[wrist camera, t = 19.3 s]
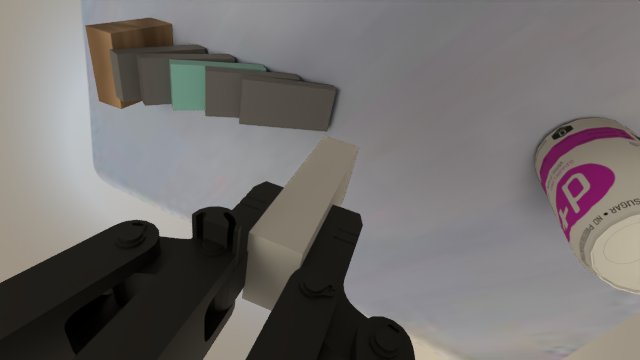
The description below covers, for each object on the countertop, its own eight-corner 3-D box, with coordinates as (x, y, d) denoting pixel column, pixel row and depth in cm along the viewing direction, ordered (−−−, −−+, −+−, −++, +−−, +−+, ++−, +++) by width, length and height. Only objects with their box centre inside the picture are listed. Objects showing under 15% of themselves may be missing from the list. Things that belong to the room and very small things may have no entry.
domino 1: (205, 48, 40) (116, 54, 33) (205, 89, 43) (123, 102, 36) (197, 44, 41) (109, 49, 34) (197, 84, 43) (116, 96, 36)
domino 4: (300, 79, 37) (205, 70, 34) (293, 120, 40) (205, 116, 37) (297, 74, 39) (205, 65, 35) (290, 114, 41) (205, 109, 38)
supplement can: (516, 172, 36) (552, 269, 24) (568, 102, 32) (645, 179, 19) (592, 201, 35) (669, 319, 23) (656, 134, 31) (797, 236, 18)
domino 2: (234, 58, 39) (140, 58, 33) (232, 99, 42) (145, 105, 36) (229, 54, 40) (136, 53, 34) (227, 94, 43) (141, 99, 37)
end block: (171, 23, 40) (110, 33, 33) (174, 87, 45) (121, 108, 37) (150, 17, 41) (85, 25, 33) (155, 81, 45) (99, 101, 38)
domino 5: (336, 90, 37) (242, 79, 34) (326, 131, 39) (239, 123, 37) (332, 85, 38) (242, 74, 35) (324, 125, 41) (239, 117, 38)
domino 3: (266, 69, 38) (170, 64, 34) (262, 109, 41) (173, 110, 36) (262, 64, 39) (169, 59, 35) (258, 104, 42) (171, 104, 38)
